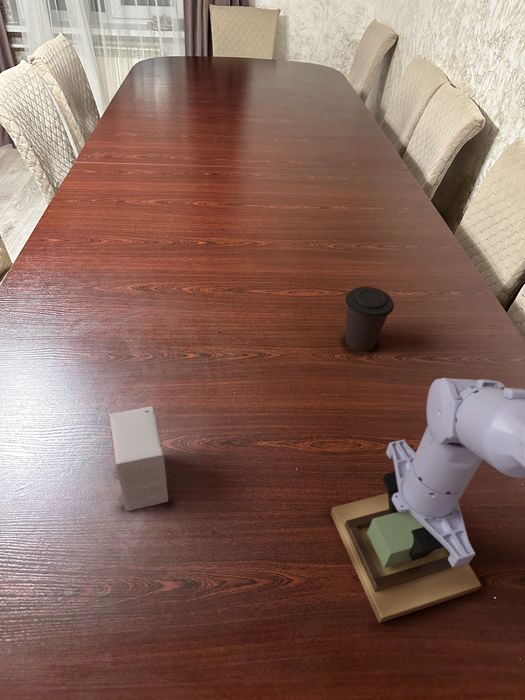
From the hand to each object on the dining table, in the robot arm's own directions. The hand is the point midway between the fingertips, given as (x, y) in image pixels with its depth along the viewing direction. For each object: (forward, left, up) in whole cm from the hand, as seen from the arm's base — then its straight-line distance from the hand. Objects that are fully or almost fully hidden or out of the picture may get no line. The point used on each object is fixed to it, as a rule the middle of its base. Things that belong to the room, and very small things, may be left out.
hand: (407, 535), depth 62 cm
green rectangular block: (0, 0, -1) cm, 1 cm away
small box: (+18, +29, -4) cm, 34 cm away
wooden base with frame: (0, 0, -4) cm, 4 cm away
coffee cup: (+37, -12, -4) cm, 39 cm away
